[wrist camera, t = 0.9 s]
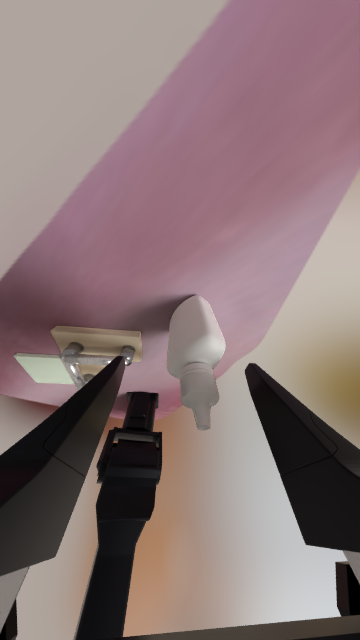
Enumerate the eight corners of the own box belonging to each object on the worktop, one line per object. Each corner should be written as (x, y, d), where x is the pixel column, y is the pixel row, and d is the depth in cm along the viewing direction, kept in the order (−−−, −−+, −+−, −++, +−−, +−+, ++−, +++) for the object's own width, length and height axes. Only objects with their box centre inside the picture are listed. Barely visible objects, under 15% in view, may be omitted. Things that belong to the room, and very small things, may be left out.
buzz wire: (144, 377, 25) (139, 399, 22) (81, 374, 24) (67, 396, 21) (140, 331, 19) (133, 352, 16) (56, 325, 18) (31, 346, 15)
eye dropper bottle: (214, 319, 18) (260, 432, 8) (175, 332, 19) (172, 445, 9) (204, 290, 16) (254, 398, 6) (161, 306, 17) (136, 421, 7)
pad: (79, 381, 25) (77, 384, 24) (39, 379, 24) (36, 382, 24) (65, 355, 21) (62, 358, 21) (17, 352, 21) (13, 355, 20)
